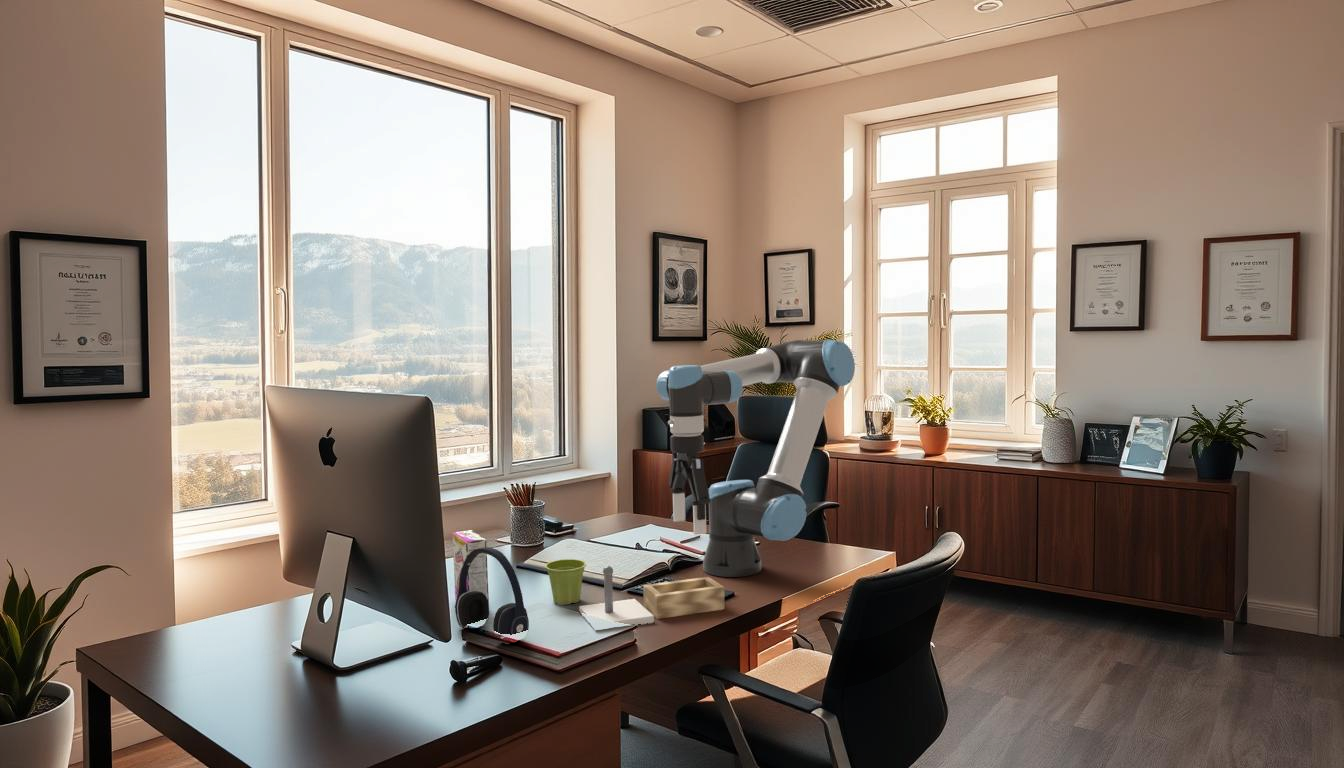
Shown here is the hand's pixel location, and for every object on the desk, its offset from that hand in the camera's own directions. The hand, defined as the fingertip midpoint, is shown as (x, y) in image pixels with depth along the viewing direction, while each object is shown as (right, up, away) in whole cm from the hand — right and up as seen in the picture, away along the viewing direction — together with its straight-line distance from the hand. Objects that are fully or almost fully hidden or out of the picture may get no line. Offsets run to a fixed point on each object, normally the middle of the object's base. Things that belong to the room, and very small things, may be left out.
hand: (689, 527), depth 198 cm
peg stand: (-16, -19, -7) cm, 26 cm away
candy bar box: (-50, -19, +4) cm, 54 cm away
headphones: (-41, -20, -16) cm, 49 cm away
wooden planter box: (-1, -18, -1) cm, 18 cm away
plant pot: (-28, -18, +6) cm, 34 cm away
